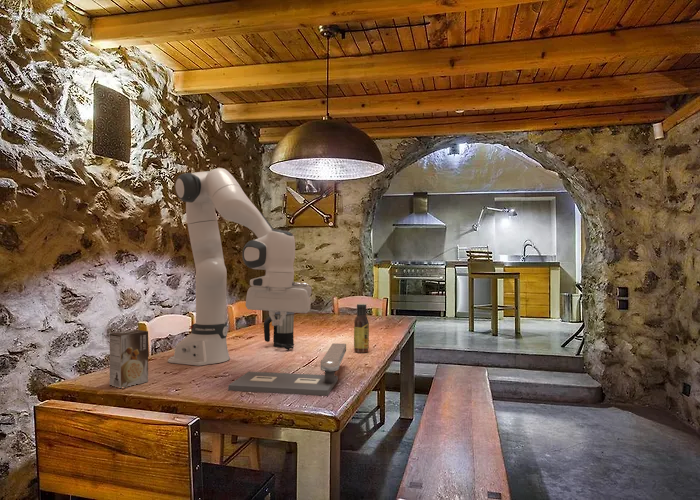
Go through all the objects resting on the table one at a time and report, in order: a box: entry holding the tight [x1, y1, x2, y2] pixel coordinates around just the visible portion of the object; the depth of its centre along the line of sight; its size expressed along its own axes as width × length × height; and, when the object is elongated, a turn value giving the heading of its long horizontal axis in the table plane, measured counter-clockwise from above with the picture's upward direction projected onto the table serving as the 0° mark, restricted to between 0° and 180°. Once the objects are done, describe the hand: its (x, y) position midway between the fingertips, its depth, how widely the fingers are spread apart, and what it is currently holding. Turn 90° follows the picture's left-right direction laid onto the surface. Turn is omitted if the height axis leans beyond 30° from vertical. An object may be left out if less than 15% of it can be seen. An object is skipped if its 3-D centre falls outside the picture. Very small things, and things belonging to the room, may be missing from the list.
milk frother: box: [263, 311, 295, 351], centre depth 193 cm, size 14×16×15 cm
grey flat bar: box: [320, 342, 347, 372], centre depth 146 cm, size 30×6×2 cm, turn 175°
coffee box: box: [109, 329, 149, 388], centre depth 136 cm, size 9×6×16 cm
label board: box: [227, 371, 339, 397], centre depth 136 cm, size 30×16×5 cm, turn 81°
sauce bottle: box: [353, 303, 370, 354], centre depth 185 cm, size 7×6×20 cm
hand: (277, 325), depth 137 cm, fingers closed
